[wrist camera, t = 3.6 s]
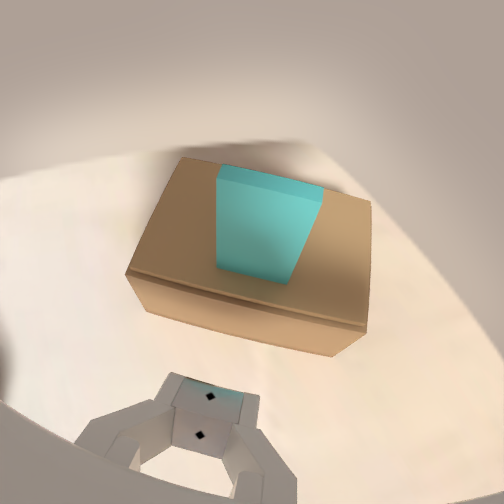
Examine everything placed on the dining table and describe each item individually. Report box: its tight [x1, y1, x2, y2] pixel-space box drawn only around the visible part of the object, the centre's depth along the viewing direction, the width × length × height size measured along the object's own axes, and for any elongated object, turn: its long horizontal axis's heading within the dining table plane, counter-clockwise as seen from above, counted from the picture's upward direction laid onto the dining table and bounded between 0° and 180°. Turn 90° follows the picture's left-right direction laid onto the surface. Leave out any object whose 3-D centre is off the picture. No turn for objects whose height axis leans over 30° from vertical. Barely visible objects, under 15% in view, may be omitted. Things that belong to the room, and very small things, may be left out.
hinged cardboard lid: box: [129, 157, 371, 326], centre depth 21 cm, size 17×11×10 cm, turn 77°
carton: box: [125, 161, 372, 357], centre depth 29 cm, size 18×12×8 cm, turn 77°
